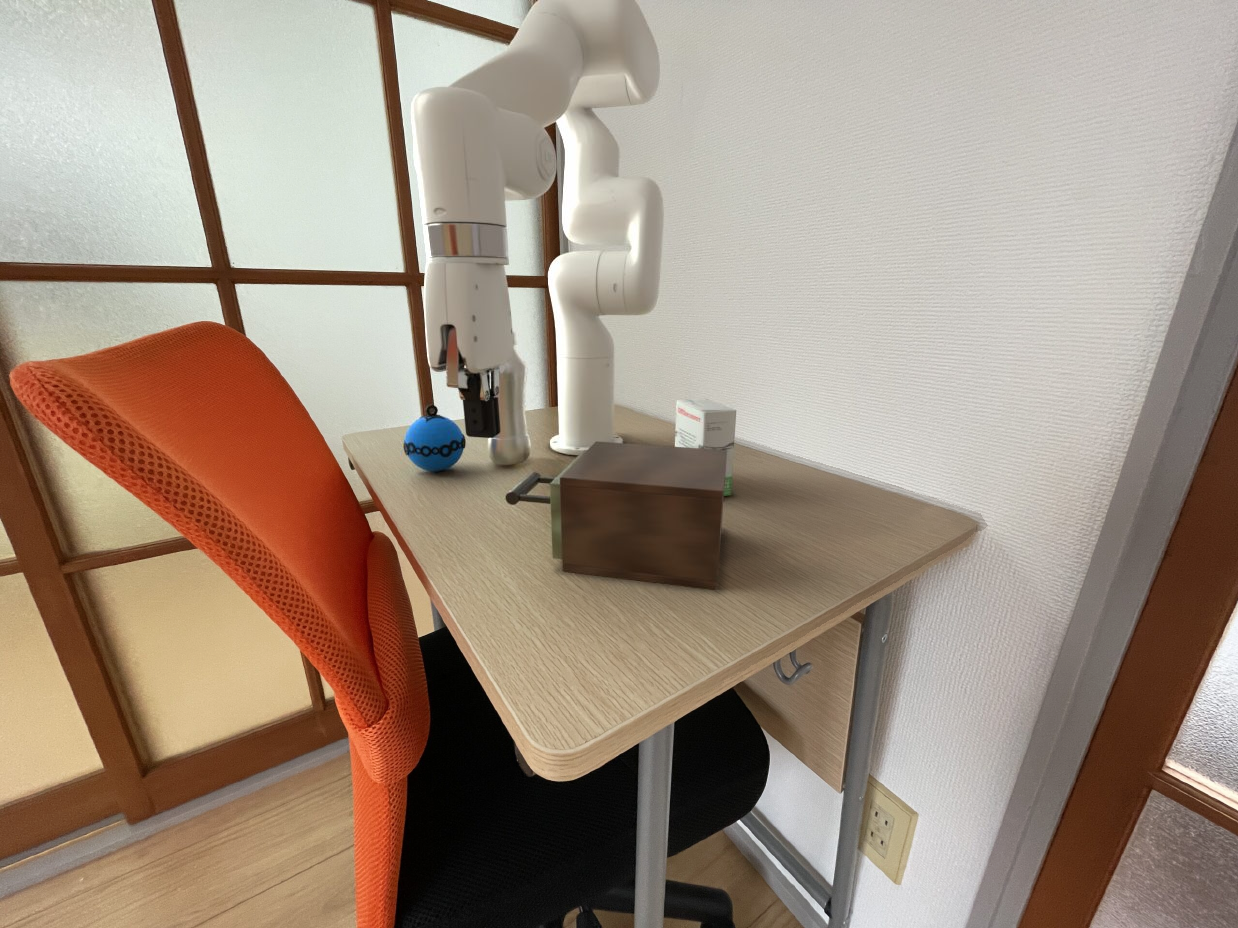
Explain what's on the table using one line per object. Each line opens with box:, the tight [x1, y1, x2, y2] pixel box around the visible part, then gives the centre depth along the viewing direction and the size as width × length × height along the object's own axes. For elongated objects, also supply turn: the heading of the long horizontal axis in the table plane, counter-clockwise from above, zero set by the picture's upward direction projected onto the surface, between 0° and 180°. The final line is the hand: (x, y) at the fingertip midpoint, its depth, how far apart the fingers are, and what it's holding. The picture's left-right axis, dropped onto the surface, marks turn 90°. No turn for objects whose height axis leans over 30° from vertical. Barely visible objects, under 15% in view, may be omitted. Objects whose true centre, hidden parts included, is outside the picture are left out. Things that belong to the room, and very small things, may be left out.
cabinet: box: [560, 441, 727, 591], centre depth 54 cm, size 15×13×10 cm
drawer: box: [505, 450, 587, 560], centre depth 55 cm, size 19×11×8 cm, turn 77°
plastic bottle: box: [487, 330, 532, 466], centre depth 80 cm, size 6×7×20 cm
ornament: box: [402, 404, 467, 473], centre depth 77 cm, size 9×9×10 cm
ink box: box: [674, 398, 737, 497], centre depth 71 cm, size 9×5×12 cm, turn 19°
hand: (483, 435), depth 56 cm, fingers closed
